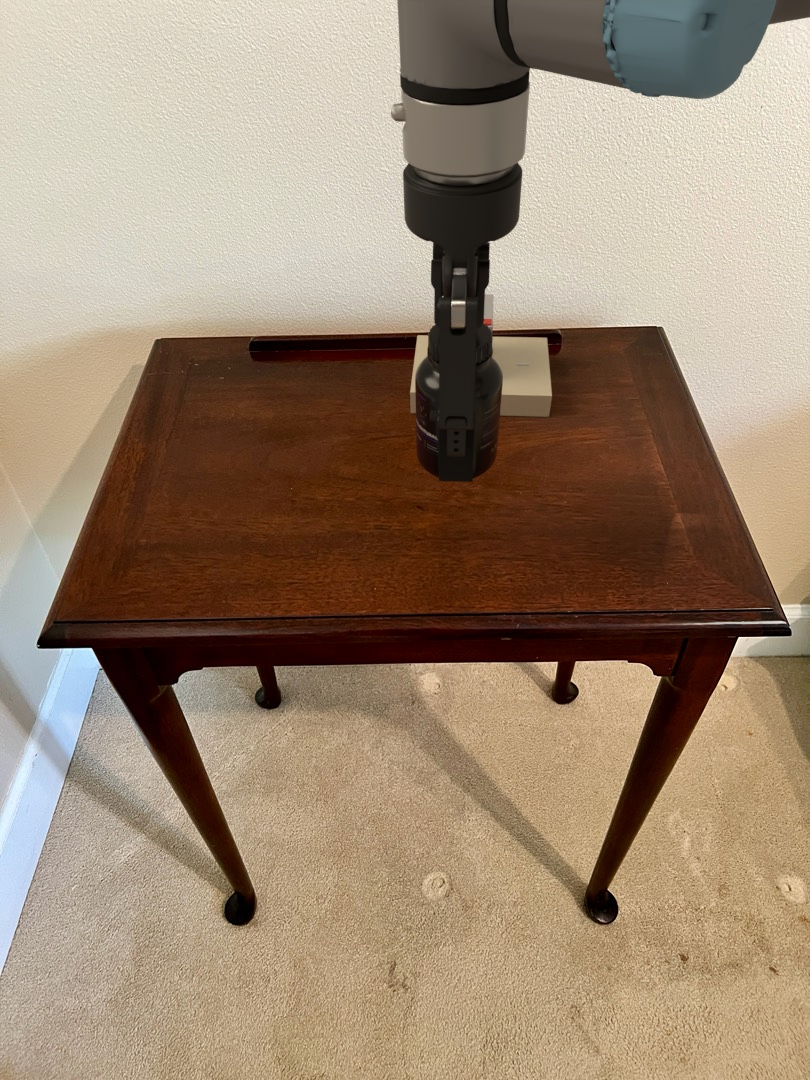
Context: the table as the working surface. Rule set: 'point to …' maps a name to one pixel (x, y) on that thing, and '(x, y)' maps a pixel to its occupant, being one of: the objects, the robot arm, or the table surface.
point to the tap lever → (488, 311)
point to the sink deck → (511, 374)
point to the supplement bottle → (484, 404)
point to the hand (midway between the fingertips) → (457, 447)
